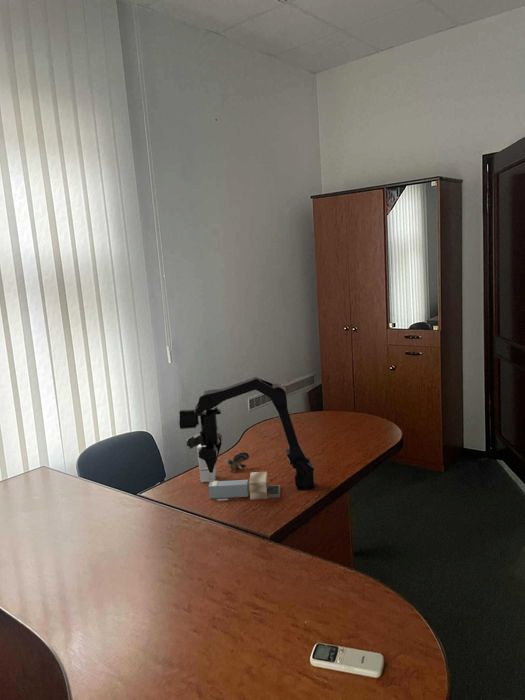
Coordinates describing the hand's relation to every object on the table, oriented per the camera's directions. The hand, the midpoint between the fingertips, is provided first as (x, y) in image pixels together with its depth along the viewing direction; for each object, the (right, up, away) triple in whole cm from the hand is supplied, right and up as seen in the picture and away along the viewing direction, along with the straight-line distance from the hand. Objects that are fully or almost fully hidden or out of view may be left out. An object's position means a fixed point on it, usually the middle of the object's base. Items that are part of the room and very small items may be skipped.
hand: (212, 467), depth 200 cm
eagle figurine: (+8, -6, +27) cm, 28 cm away
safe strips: (+4, -10, +2) cm, 11 cm away
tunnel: (+17, -9, +1) cm, 19 cm away
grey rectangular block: (+6, -10, +1) cm, 12 cm away
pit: (+22, -9, +1) cm, 24 cm away
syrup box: (-3, -9, +18) cm, 20 cm away
